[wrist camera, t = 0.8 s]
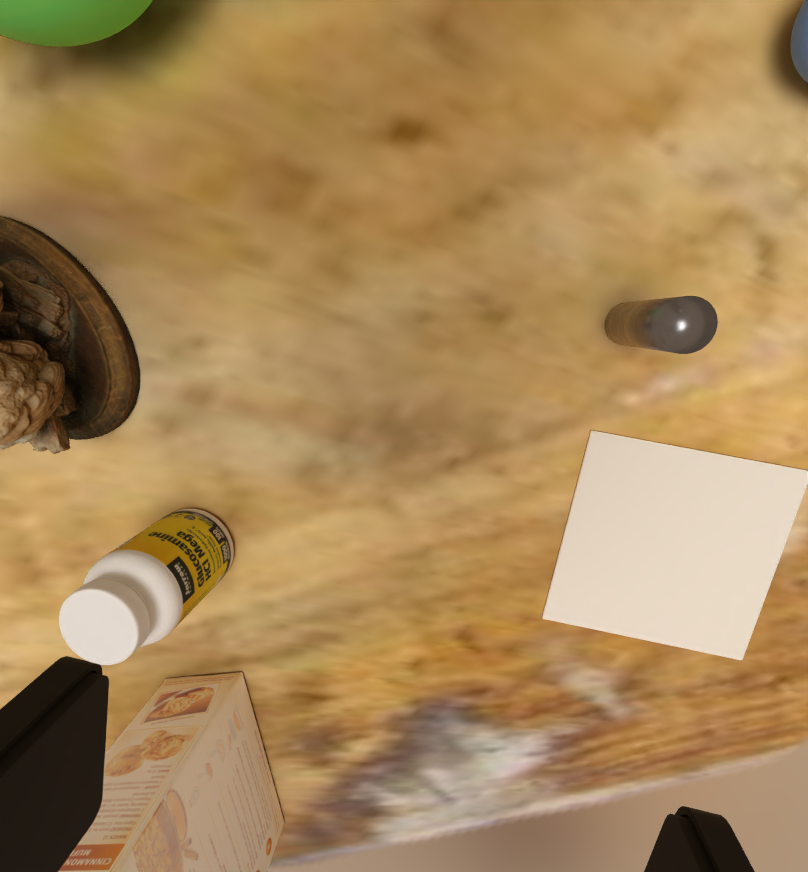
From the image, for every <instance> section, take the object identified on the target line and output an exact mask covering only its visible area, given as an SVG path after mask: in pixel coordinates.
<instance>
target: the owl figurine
mask: <svg viewBox="0 0 808 872" xmlns="http://www.w3.org/2000/svg"><path fill="white" fill-rule="evenodd" d="M139 389H140V369H139V365H138V359H137V355H136V352H135V350H134V346H133V343H132V339H131V337H130V335H129V333H128V331H127V329H126V326H125V324H124V322H123V320H122V317H121V316H120V314H119V312H118V310H117V308H116V307H115V305H114V304H113V302H112V301H111V299H110V298H109V296H108V295H107V293H106V292H105V291H104V290H103V289H102V287H101V286H100V285H99V284H98V282H97V281H96V280H95V279H94V278H93V276H92V275H91V274H90V273H89V272H88V271H87V270H86V269H85V268H84V267H83V266H81V265H80V263H79V262H78V261H77V260H76V259H75V258H74V257H73V256H72V255H71V254H70V253H69V252H68V251H67V250H65V249H64V248H63V247H62V246H60V245H59V244H57V243H56V242H55V241H53V240H52V239H51V238H49V237H47V236H46V235H43V234H42V233H41V232H40V231H38V230H36V229H34V228H32V227H29V226H27V225H26V224H22V222H18V221H15V220H13V219H9V218H5V217H1V216H0V449H5V448H9V447H10V446H13V445H15V444H17V443H26V442H30V444H31V445H33V447H34V449H33V450H35V451H37V452H38V451H46V450H49V451H51V453H53V454H56V453H59V452H61V451H65V450H68V449H70V446H69V444H70V443H69V441H70V440H69V438H70V439H75V440H78V439H79V440H81V439H91V438H95V437H99V436H103V435H104V434H107V433H109V432H110V431H113V430H114V429H115V428H117V427H119V425H121V424H122V422H124V421H125V419H127V418H128V416H129V414H130V413H131V411H132V410H133V408H134V405H135V403H136V399H137V396H138V393H139Z"/></svg>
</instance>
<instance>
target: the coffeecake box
mask: <svg viewBox="0 0 808 872" xmlns="http://www.w3.org/2000/svg"><path fill="white" fill-rule="evenodd" d="M283 826H284V819H283V815H282V812H281V808H280V804H279V801H278V797H277V794H276V790H275V787H274V783H273V780H272V776H271V772H270V769H269V765H268V762H267V758H266V755H265V751H264V748H263V744H262V740H261V737H260V733H259V730H258V726H257V723H256V719H255V716H254V712H253V708H252V705H251V701H250V698H249V694H248V690H247V687H246V683H245V680H244V676H243V673H242V672H236V673H226V674H218V675H208V676H187V677H178V678H167V679H164V681H163V683H162V684H161V686H160V687H159V688H158V689H157V691H156V692H155V693H154V694H153V695H152V697H151V698H150V699H149V700H148V702H147V703H146V704H145V705H144V707H143V708H142V709H141V710H140V711H139V713H138V714H137V715H136V716H135V717H134V719H133V720H132V721H131V722H130V724H129V725H128V726H127V727H126V729H125V730H124V731H123V732H122V734H121V735H120V736H119V737H118V738H117V740H116V741H115V742H114V743H113V745H112V746H111V747H110V748H109V749H108V751H107V752H106V753H105V761H104V779H103V797H102V803H101V806H100V809H99V812H98V814H97V816H96V818H95V820H94V822H93V823H92V825H91V826H90V828H89V829H88V831H87V832H86V833H85V835H84V836H83V838H82V839H81V840H80V842H79V843H78V845H77V846H76V847H75V849H74V850H73V852H72V853H71V854H70V856H69V857H68V859H67V860H66V861H65V863H64V864H63V865H62V867H61V868H60V870H59V871H58V872H267V871H268V869H269V866H270V863H271V860H272V857H273V854H274V851H275V849H276V846H277V843H278V840H279V837H280V834H281V832H282V829H283Z"/></svg>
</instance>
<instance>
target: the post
mask: <svg viewBox="0 0 808 872" xmlns="http://www.w3.org/2000/svg"><path fill="white" fill-rule="evenodd" d="M717 323H718V322H717V314H716V311H715V309H714V308H713V306H712V305H711V304H710V303H709V302H708V301H706V300H705V299H703V298H700V297H697V296H683V297H674V298H664V299H655V300H645V301H636V302H626V303H621V304H619V305H617V306H615V307H614V308H613V309H612V310H611V311H610V312H609V313H608V315H607V317H606V320H605V331H606V334H607V336H608V337H609V338H610V339H611V340H612V341H613V342H615V343H617V344H620V345H627V346H633V347H640V348H646V349H653V350H659V351H666V352H673V353H679V354H689V353H693V352H696V351H699V350H700V349H702V348H704V347H705V346H706V345H707V344H708V343H709V342H710V341H711V340H712V338H713V336H714V335H715V332H716V329H717Z"/></svg>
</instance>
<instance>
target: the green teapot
mask: <svg viewBox="0 0 808 872" xmlns="http://www.w3.org/2000/svg"><path fill="white" fill-rule="evenodd" d="M152 1H153V0H0V35H2V36H4V37H7V38H10V39H14V40H17V41H21V42H25V43H30V44H35V45H42V46H54V47H66V46H78V45H84V44H89V43H93V42H96V41H99V40H102V39H105V38H108V37H110V36H112V35H114V34H116V33H118V32H120V31H121V30H123V29H125V28H126V27H127V26H129V25H130V24H131V23H133V22H134V21H135V20H136V19H137V18H138V17H139V16H140V15H141V14H142V13H143V12H144V11H145V10H146V9H147V8H148V6H149V5H150V4H151V3H152Z"/></svg>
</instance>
